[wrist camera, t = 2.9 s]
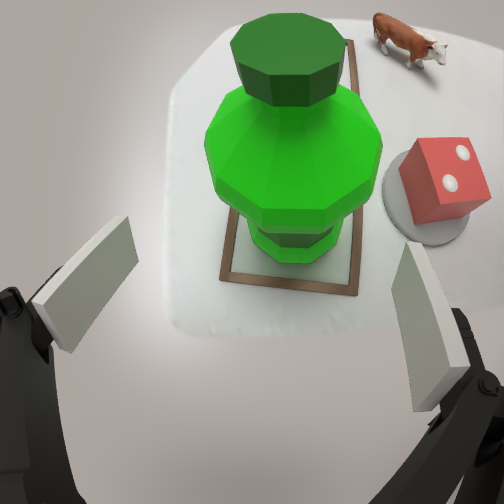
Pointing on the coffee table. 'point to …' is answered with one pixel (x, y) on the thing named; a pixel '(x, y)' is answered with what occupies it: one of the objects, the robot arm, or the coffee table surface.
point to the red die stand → (434, 189)
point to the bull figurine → (407, 40)
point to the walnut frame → (292, 283)
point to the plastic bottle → (292, 138)
